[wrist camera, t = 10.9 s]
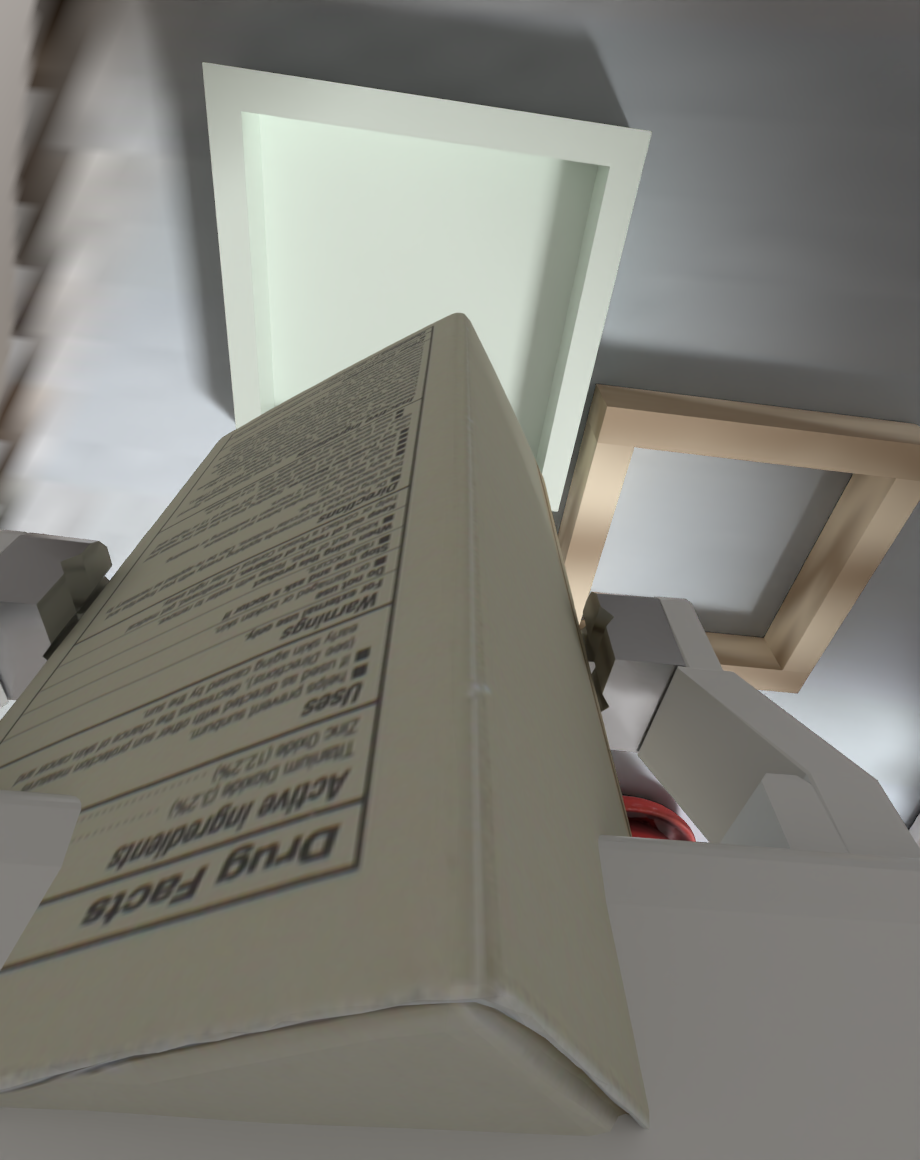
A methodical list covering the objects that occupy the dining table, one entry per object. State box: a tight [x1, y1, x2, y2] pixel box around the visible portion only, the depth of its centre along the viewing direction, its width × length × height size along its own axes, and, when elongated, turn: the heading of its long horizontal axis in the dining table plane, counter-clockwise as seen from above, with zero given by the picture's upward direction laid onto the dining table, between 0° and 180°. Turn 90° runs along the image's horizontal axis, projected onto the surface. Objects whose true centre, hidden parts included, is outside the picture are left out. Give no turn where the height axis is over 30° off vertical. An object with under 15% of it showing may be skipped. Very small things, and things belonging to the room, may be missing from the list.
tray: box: [202, 62, 652, 512], centre depth 23 cm, size 13×13×3 cm
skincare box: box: [0, 313, 650, 1136], centre depth 9 cm, size 6×4×12 cm
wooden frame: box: [558, 384, 920, 693], centre depth 30 cm, size 14×14×2 cm
